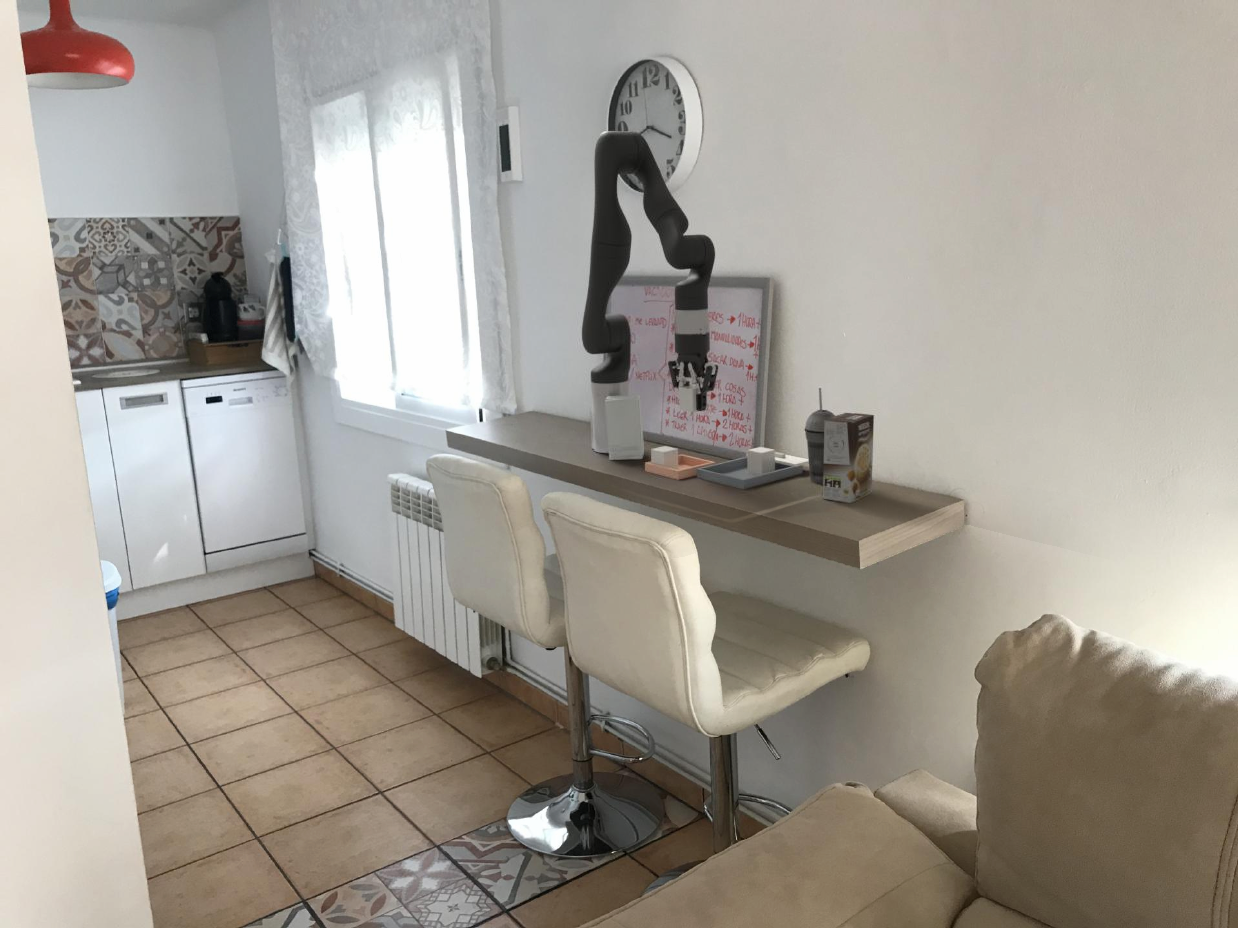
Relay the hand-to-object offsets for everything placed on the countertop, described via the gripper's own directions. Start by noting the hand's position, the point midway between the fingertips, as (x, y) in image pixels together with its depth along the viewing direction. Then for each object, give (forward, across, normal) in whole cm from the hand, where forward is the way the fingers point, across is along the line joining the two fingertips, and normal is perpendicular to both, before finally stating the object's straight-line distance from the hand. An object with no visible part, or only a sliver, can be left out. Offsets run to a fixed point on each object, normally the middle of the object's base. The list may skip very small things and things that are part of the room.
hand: (693, 408), depth 215 cm
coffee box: (+15, +36, +8) cm, 39 cm away
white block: (+14, -5, -5) cm, 15 cm away
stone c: (+14, +12, +9) cm, 20 cm away
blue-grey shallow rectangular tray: (+14, +12, +7) cm, 20 cm away
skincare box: (+15, -23, -1) cm, 28 cm away
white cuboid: (0, 0, 0) cm, 0 cm away
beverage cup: (+15, +26, +12) cm, 32 cm away
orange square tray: (+14, -2, -2) cm, 15 cm away
